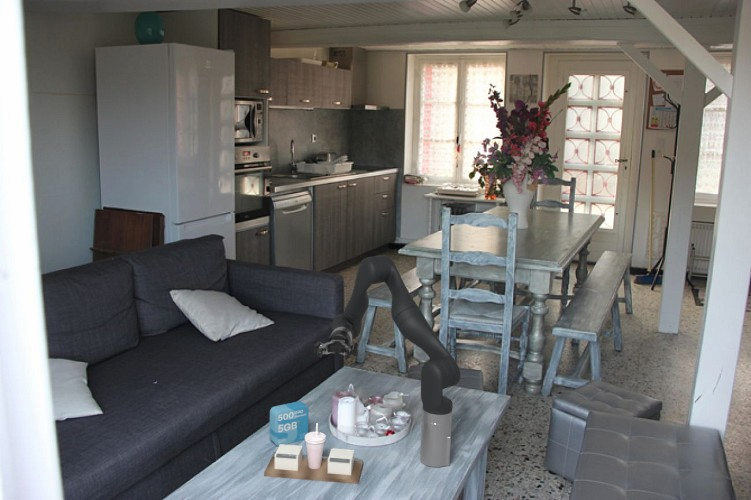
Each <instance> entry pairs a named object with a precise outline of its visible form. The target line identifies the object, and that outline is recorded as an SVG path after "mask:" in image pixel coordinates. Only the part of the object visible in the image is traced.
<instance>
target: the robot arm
mask: <svg viewBox="0 0 751 500" xmlns="http://www.w3.org/2000/svg"><path fill="white" fill-rule="evenodd" d="M382 283H384V284H385V285H386V286H387V288H388V289H389V293H390V294H391V305H390V306H391V308H390V310H391V318H392V320H393V322H394V325H395V326H396V327H397V329H398V331H399V333H401V335H402V336H403V337H404V338H406V339H407V340H408V342H410V343H412V344H414V345H415V346H416V347H418V348H419V349H421V350H422V351H423V352H424V353H425V354H426V355H427V357H428V358H429V359H430V360H429V361H426V362H425V363H423V365H422V367H421V371H420V399H421V402H422V413H421V434H420V448H419V461H420V462H421V464H422V465H425V466H428V467H432V468H441V467H446V466H447V467H449V466H450V462H451V461H450V458H451V442H452V418H453V407H454V405H453V401H452V400H451V398H449V397H448V396H445V395H443V391H444V390H445V389H447V388H450V387H453V386H456V385H458V383H460V380H461V369H460V366H459V365H458V363H457V362H456V360H455V358H454V357H453V356H452V354H451V353H450V351H448V349H447V348H446V346H444V344H443V343H442V342H441V341H440V339H439V337H438V336H437V334H436V333H435V332H434V329H432V327H431V326H430V323H429V322H428V321H427V319H426V317H425V315H424V313H423V312H422V310H421V309H420V307H419V306H418V305H417V303H416V301H415V300H414V298H413V297H412V295H411V293H410V291H409V290H408V288H407V286H406V284H405V283H404V279H402V276H401V274H400V271H399V270H398V269H397V266H396V264H395V263H394V261H393V259H392V258H391V257H390V256H388V255H387V254H379V255H375V256H369V257H365V258H363V259H362V260H361V262H360V263H359V266H358V269H357V272H356V277H355V281H354V285H353V289H352V292H351V296H350V297H349V300H348V302H347V303H346V306H345V307H344V311H343V313H340V314H337V315H336V316H335V317H334V319H333V322H332V324H331V326H332V327H331V328H332V332H331V334H330V335H329V338H328V340H327V342H325V343H322V341H321V340H317V341H316V343H315V344H314V345H313V354H314V355H315V354H316V356H317V357H318V358H320V359H321V358H322V357H323V355H329V354H334V355H337V356H339V355H340V356H341V355H342V356H344V360H346V361H347V360H348V359H350V358H351V357H357V356H358V351H359V344H358V343H354V344H352V342H353V341H352V340H355V339H357V338H358V337H359V336H360V334H361V330H362V321H363V318H364V316H365V313H366V312H367V309H368V308H369V303H370V299H369V295H368V289H369V288H370V287H371V286H372V285H376V284H382Z"/></svg>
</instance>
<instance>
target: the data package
mask: <svg viewBox="0 0 751 500" xmlns="http://www.w3.org/2000/svg"><path fill="white" fill-rule="evenodd" d="M309 410H310V409H309V407H308V406H307V405H306V404H304V402H302V401H301V400H299V401H293V402H290V403H284V404H280V405H276V406H272V407H271V409H270V410H269V440H270V441H271V442H272V443H274V445H276V446H277V447H279V445H280V444H284V445H290V444H293V443H297V442H301V441H305V435H306V434H307V433H309Z"/></svg>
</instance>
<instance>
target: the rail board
mask: <svg viewBox="0 0 751 500" xmlns="http://www.w3.org/2000/svg"><path fill="white" fill-rule="evenodd" d="M277 447H278V448H277V449H276V452H273V453H272V456H271V458H270V460H269V462H268V464H267V465H266V468H265V470H264V473H263V474H264V475H263V476H264V477H269V478H270V477H271V478H283V479H284V478H286V479H293V480H294V479H296V480H305V481H306V480H310V481H318V482H319V481H321V482H332V483H343V484H353V485H355V484H356V485H357V484H358V485H359V482H360V478H361V474H362V470H363V465H364V459H363V458H355V449H346V448H331V449H330V452H329V456H323V455H322V462H321V467H320V468H318V469H311V468H309V466H308V456H307V454H303V445H293V444H285V445H284V444H280V445H279V446H277Z"/></svg>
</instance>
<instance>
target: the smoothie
mask: <svg viewBox="0 0 751 500" xmlns="http://www.w3.org/2000/svg"><path fill="white" fill-rule="evenodd" d="M315 424H316V425H315V431H310V432H308V433H307V434H306V435H305V440H304V441H305V445H306V455H307V456H308V466H309V468H311V469H318V468H320V467H321V462H322V456H323V454H324V448H325V442H326V440H327V435H326V434H325V433H323V432H321V431H319V422H316V423H315Z"/></svg>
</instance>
